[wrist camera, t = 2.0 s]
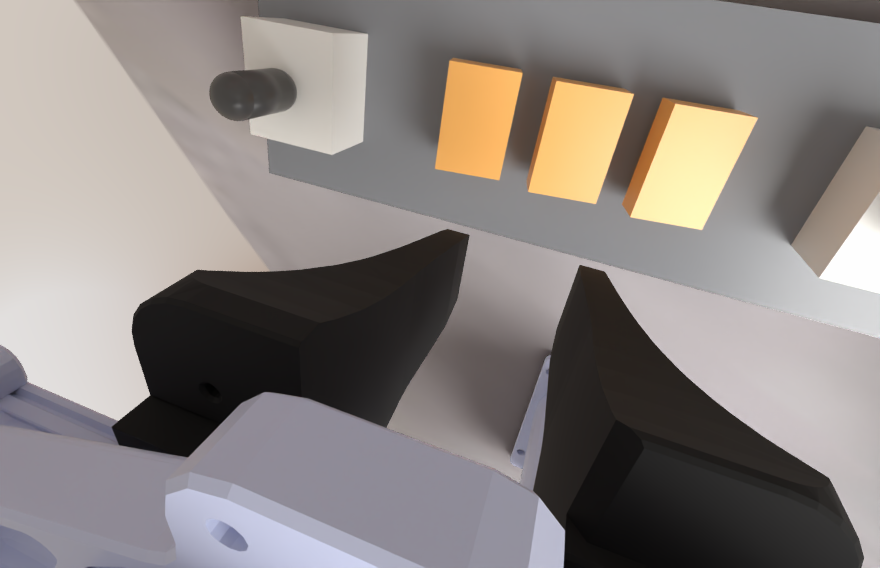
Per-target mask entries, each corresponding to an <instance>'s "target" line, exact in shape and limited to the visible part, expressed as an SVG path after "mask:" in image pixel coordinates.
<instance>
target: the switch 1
mask: <svg viewBox="0 0 880 568" xmlns="http://www.w3.org/2000/svg"><path fill="white" fill-rule="evenodd" d="M522 74H523V72H522V70H521V69H517V68H511V67H505V66H499V65H493V64H487V63H481V62H475V61H469V60H464V59H458V58H452V59H451V60H450V61H449V69H448V76H447V83H446V91H445V98H444V105H443V113H442V120H441V127H440V135H439V142H438V149H437V157H436V164H435V169H438V170H444V171H449V172H455V173H461V174H466V175H472V176H478V177H483V178H489V179H494V180H499V179H500V175H501V170H502V166H503V161H504V157H505V152H506V147H507V143H508V138H509V134H510V129H511V124H512V120H513V115H514V111H515V106H516V102H517V97H518V92H519V88H520V83H521V79H522Z"/></svg>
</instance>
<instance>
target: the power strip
mask: <svg viewBox="0 0 880 568" xmlns="http://www.w3.org/2000/svg"><path fill="white" fill-rule="evenodd" d="M258 9H259V17H268V18H285V19H290V20H296V21H301V22H307V23H312V24H317V25H323V26H328V27H334V28H339V29H344V30H350V31H355V32H361V33H366V34H368V47H367V68H366V89H365V110H364V132H363V142H361V143H359V144H357V145H354V146H352V147H350V148H347V149H345V150H342V151H340V152H338V153H335V154H333V155H330V154H326V153H322V152H318V151H314V150H310V149H306V148H303V147H299V146H295V145H291V144H287V143H283V142H279V141H275V140H271V139H267V144H268V160H269V173H271V174H275V175H279V176H282V177H286V178H290V179H294V180H297V181H301V182H305V183H308V184H312V185H316V186H319V187H323V188H327V189H330V190H334V191H338V192H341V193H345V194H349V195H352V196H356V197H360V198H364V199H367V200H371V201H375V202H378V203H382V204H386V205H389V206H393V207H397V208H400V209H404V210H408V211H411V212H415V213H419V214H422V215H426V216H430V217H434V218H437V219H441V220H445V221H448V222H452V223H456V224H459V225H463V226H467V227H470V228H474V229H478V230H481V231H485V232H489V233H492V234H496V235H500V236H504V237H507V238H511V239H515V240H518V241H522V242H526V243H529V244H533V245H537V246H540V247H544V248H548V249H551V250H555V251H559V252H562V253H566V254H570V255H574V256H577V257H581V258H585V259H588V260H592V261H596V262H599V263H603V264H607V265H610V266H614V267H618V268H621V269H625V270H629V271H632V272H636V273H640V274H644V275H647V276H651V277H655V278H658V279H662V280H666V281H669V282H673V283H677V284H680V285H684V286H688V287H691V288H695V289H699V290H702V291H706V292H710V293H714V294H717V295H721V296H725V297H728V298H732V299H736V300H739V301H743V302H747V303H750V304H754V305H758V306H761V307H765V308H769V309H772V310H776V311H780V312H784V313H787V314H791V315H795V316H798V317H802V318H806V319H809V320H813V321H817V322H820V323H824V324H828V325H831V326H835V327H839V328H842V329H846V330H850V331H854V332H857V333H861V334H865V335H868V336H872V337H876V338H879V339H880V293H876V292H872V291H868V290H864V289H860V288H856V287H852V286H848V285H844V284H840V283H836V282H832V281H828V280H824V279H820V278H818V276H817V275H816V274H815V273H814V272H813V271H812V269H811V268H810V267H809V266H808V265H807V264H806V262H805V261H804V260H803V259H802V258H801V257H800V255H799V254H798V253H797V252H796V251H795V250H794V248H793V247H792V246H791V244H792V243H793V241H794V240H795V238H796V236H797V235H798V233H799V232H800V230H801V228H802V227H803V225H804V224H805V222H806V221H807V219H808V217H809V216H810V214H811V213H812V211H813V209H814V208H815V206H816V205H817V203H818V202H819V200H820V198H821V197H822V195H823V194H824V192H825V190H826V189H827V187H828V186H829V184H830V183H831V181H832V179H833V178H834V176H835V175H836V173H837V171H838V170H839V168H840V167H841V165H842V164H843V162H844V160H845V159H846V157H847V156H848V154H849V152H850V151H851V149H852V148H853V146H854V145H855V143H856V141H857V140H858V138H859V137H860V135H861V133H862V132H863V130H864V129H865V127H866V126H867V127H873V128H878V129H880V23H873V22H866V21H859V20H852V19H845V18H838V17H830V16H823V15H816V14H809V13H802V12H795V11H788V10H781V9H774V8H767V7H760V6H753V5H746V4H739V3H732V2H725V1H718V0H258ZM452 58H458V59H464V60H469V61H475V62H481V63H487V64H493V65H499V66H505V67H511V68H517V69H521V70H522V72H523V74H522V79H521V83H520V88H519V92H518V97H517V102H516V106H515V111H514V115H513V120H512V124H511V129H510V134H509V138H508V143H507V147H506V152H505V157H504V161H503V166H502V170H501V175H500V179H499V180H494V179H489V178H483V177H478V176H472V175H466V174H461V173H455V172H449V171H444V170H438V169H435V164H436V157H437V149H438V142H439V135H440V127H441V120H442V113H443V105H444V98H445V91H446V83H447V76H448V69H449V61H450V60H451V59H452ZM553 77H558V78H564V79H570V80H576V81H582V82H587V83H593V84H599V85H605V86H611V87H617V88H623V89H626V90H628V91H630V92H631V93H633V94H634V96H633V99H632V102H631V105H630V108H629V110H628V113H627V116H626V119H625V122H624V125H623V128H622V130H621V133H620V136H619V139H618V142H617V145H616V148H615V151H614V153H613V156H612V159H611V162H610V165H609V168H608V171H607V174H606V176H605V179H604V182H603V185H602V188H601V191H600V194H599V196H598V199H597V202H596V204H593V203H587V202H582V201H576V200H571V199H565V198H559V197H554V196H548V195H542V194H537V193H531V192H528V189H527V182H526V181H527V177H528V173H529V169H530V165H531V161H532V157H533V153H534V149H535V145H536V141H537V137H538V133H539V129H540V125H541V121H542V117H543V113H544V109H545V105H546V101H547V97H548V93H549V89H550V86H551V82H552V78H553ZM662 98H669V99H675V100H681V101H687V102H692V103H698V104H704V105H710V106H716V107H722V108H728V109H734V110H739V111H742V112H745V113H747V114H750V115H752V116H755V117H757V118H758V119H757V121H756V123H755V125H754V127H753V129H752V131H751V133H750V135H749V137H748V139H747V141H746V143H745V145H744V147H743V149H742V151H741V153H740V155H739V157H738V159H737V161H736V163H735V165H734V167H733V169H732V171H731V173H730V175H729V177H728V179H727V181H726V183H725V185H724V187H723V189H722V191H721V193H720V195H719V197H718V199H717V201H716V203H715V205H714V207H713V209H712V211H711V213H710V215H709V217H708V219H707V221H706V223H705V225H704V227H703V229H702V230H699V229H694V228H688V227H683V226H677V225H671V224H666V223H660V222H654V221H649V220H643V219H638V218H632V217H630V216H629V215H628V213H627V211H626V210H625V208H624V207H623V205H622V203H623V200H624V198H625V195H626V192H627V190H628V187H629V184H630V182H631V179H632V177H633V174H634V171H635V169H636V166H637V163H638V161H639V158H640V156H641V153H642V150H643V148H644V145H645V143H646V140H647V137H648V135H649V132H650V129H651V127H652V124H653V122H654V119H655V116H656V114H657V111H658V109H659V106H660V103H661V101H662Z"/></svg>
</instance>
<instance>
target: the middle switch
mask: <svg viewBox="0 0 880 568" xmlns="http://www.w3.org/2000/svg"><path fill="white" fill-rule="evenodd" d="M633 96H634V94H633V93H631V92H630V91H628V90H626V89H623V88H617V87H611V86H605V85H599V84H593V83H587V82H582V81H576V80H570V79H564V78H558V77H553V78H552V82H551V86H550V89H549V93H548V97H547V101H546V105H545V109H544V113H543V117H542V121H541V125H540V129H539V133H538V137H537V141H536V145H535V149H534V153H533V157H532V161H531V165H530V169H529V173H528V177H527V181H526V182H527V189H528V192H531V193H537V194H542V195H548V196H554V197H559V198H565V199H571V200H576V201H582V202H587V203H593V204H596V202H597V199H598V196H599V194H600V191H601V188H602V185H603V182H604V179H605V176H606V174H607V171H608V168H609V165H610V162H611V159H612V156H613V153H614V151H615V148H616V145H617V142H618V139H619V136H620V133H621V130H622V128H623V125H624V122H625V119H626V116H627V113H628V110H629V108H630V105H631V102H632V99H633Z"/></svg>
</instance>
